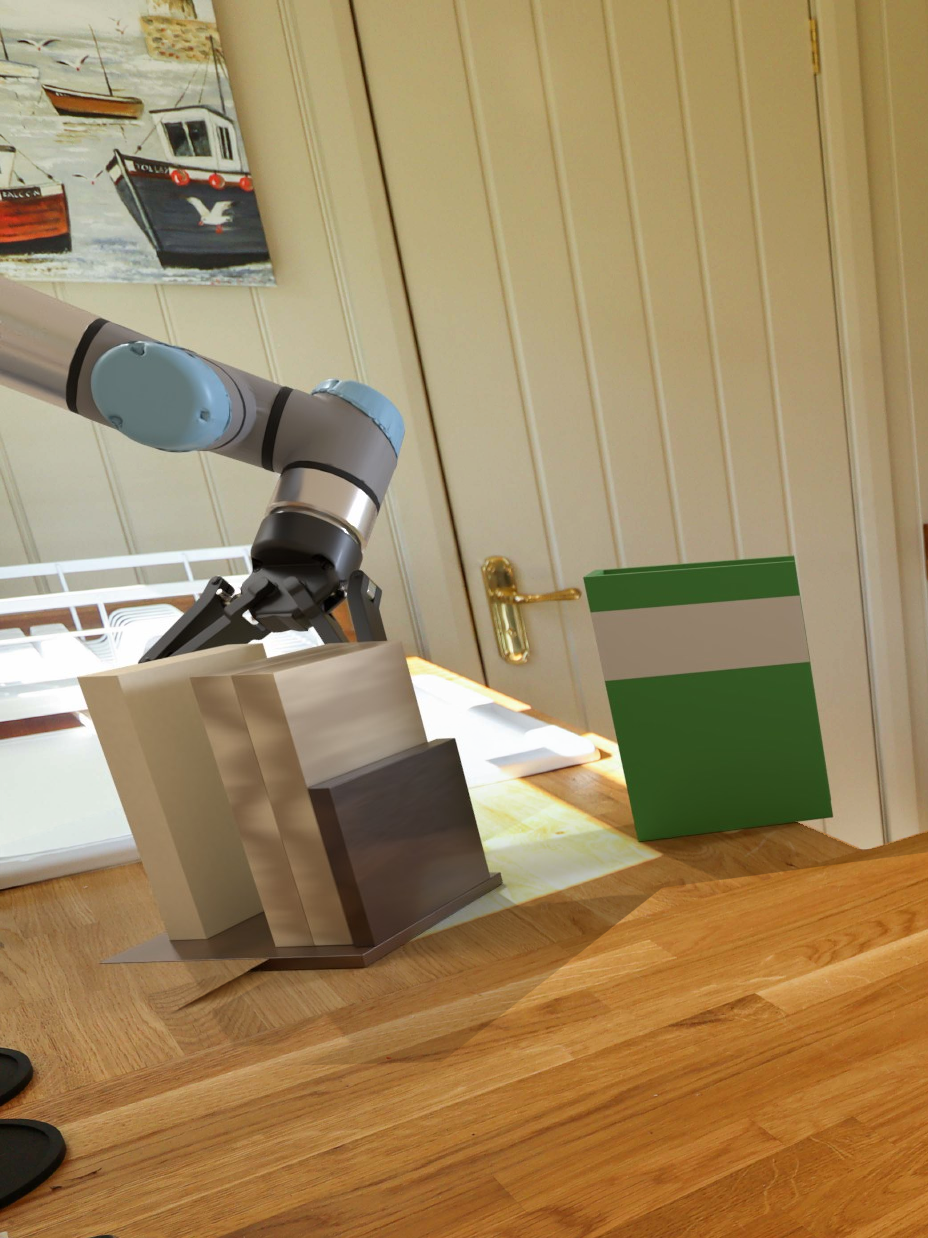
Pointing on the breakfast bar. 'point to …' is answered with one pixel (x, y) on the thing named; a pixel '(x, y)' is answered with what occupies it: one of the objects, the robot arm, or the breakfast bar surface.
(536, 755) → the breakfast bar surface
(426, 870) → the book rack
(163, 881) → the thin cream book
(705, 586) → the hardback book
